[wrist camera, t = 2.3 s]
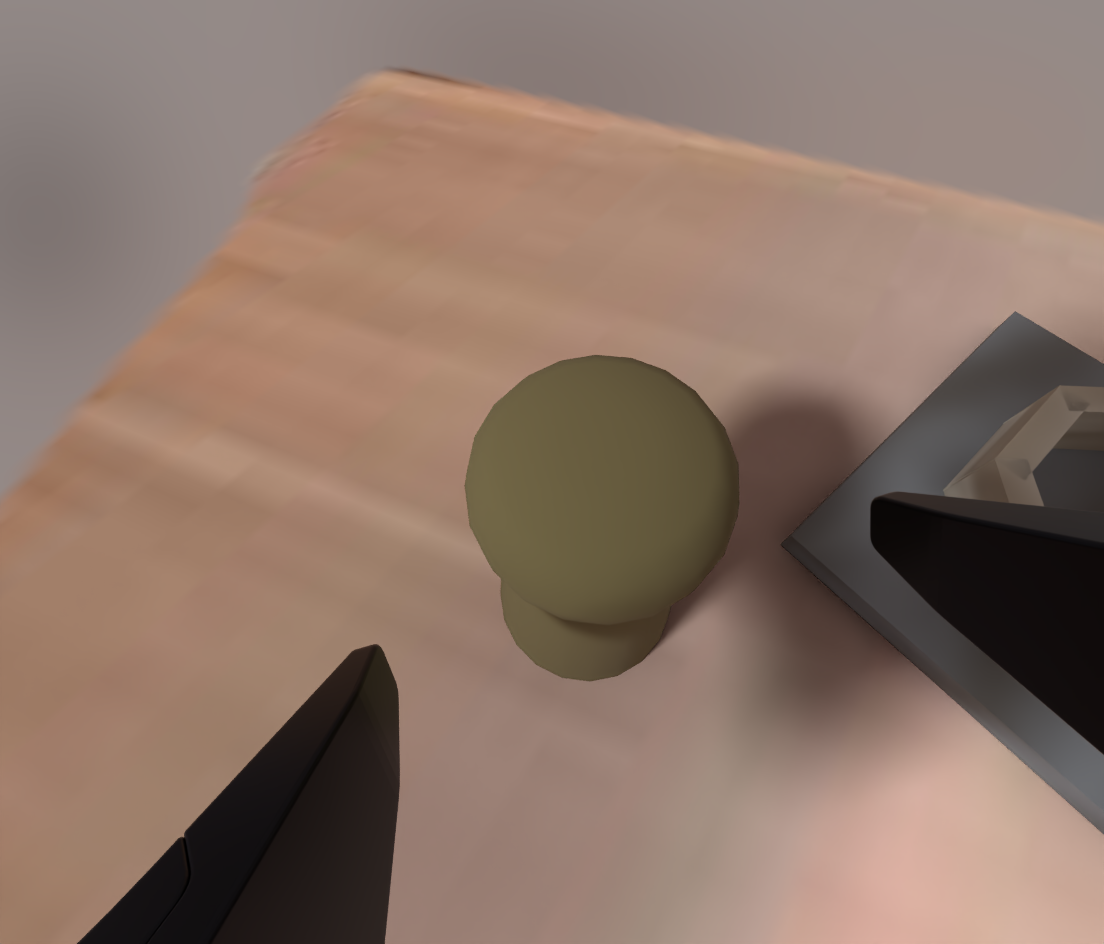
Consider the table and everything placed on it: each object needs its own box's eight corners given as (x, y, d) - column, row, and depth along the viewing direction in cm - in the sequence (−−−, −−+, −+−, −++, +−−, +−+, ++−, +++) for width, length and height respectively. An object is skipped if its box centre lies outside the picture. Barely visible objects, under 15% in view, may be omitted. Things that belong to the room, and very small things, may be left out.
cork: (562, 482, 20) (556, 259, 10) (700, 567, 19) (850, 400, 9) (466, 613, 18) (345, 490, 8) (612, 720, 17) (678, 726, 7)
